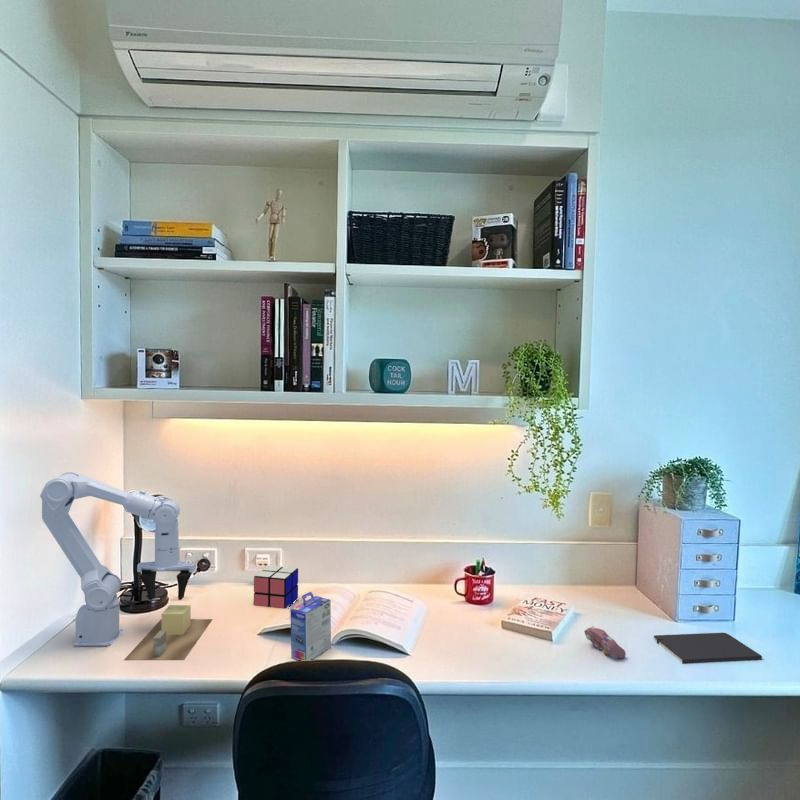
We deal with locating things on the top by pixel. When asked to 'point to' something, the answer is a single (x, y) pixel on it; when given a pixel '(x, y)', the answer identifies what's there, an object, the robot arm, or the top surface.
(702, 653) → the notebook
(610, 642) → the reddish brown lumpy piece
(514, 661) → the top surface
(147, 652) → the tan flat slab
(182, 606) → the block
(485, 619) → the top surface
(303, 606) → the ink cartridge box
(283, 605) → the puzzle cube
